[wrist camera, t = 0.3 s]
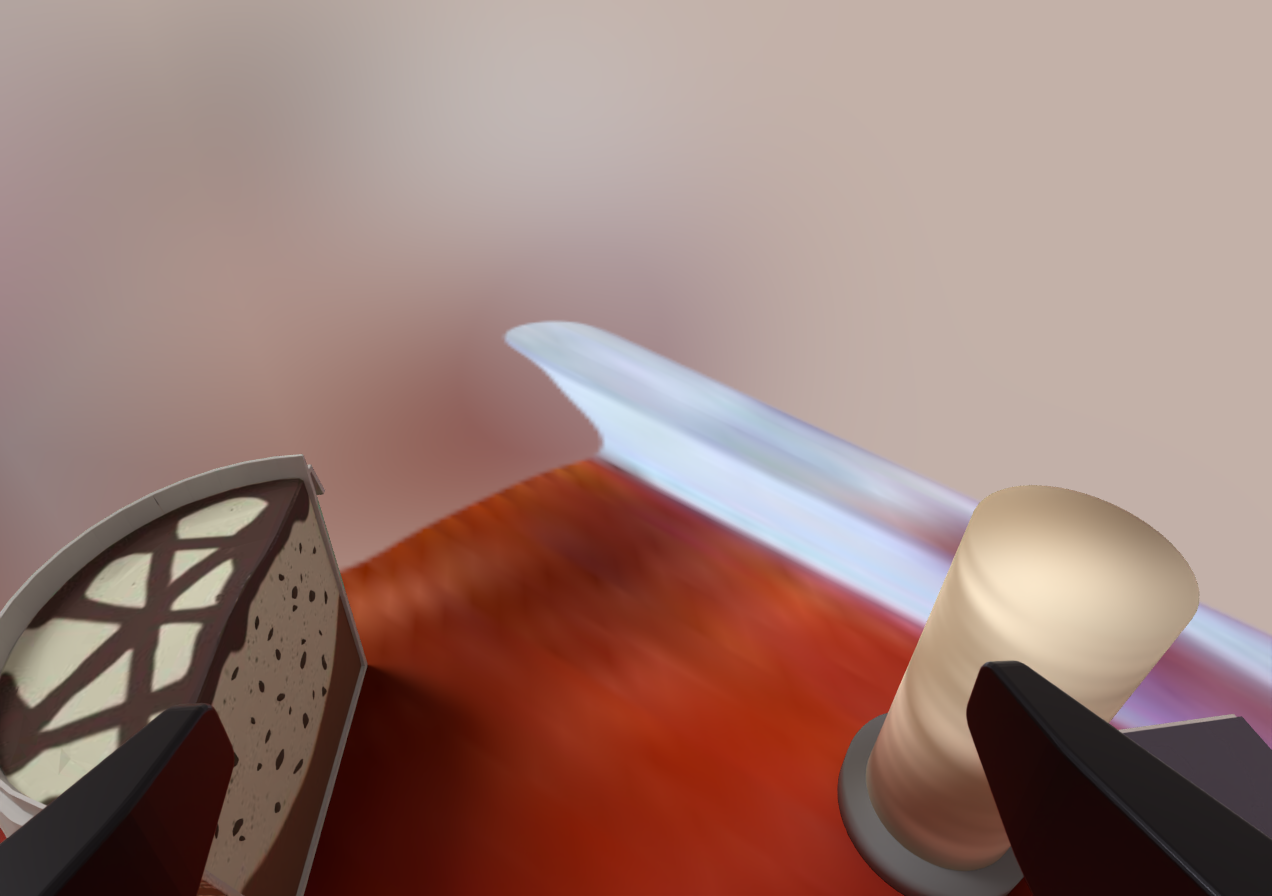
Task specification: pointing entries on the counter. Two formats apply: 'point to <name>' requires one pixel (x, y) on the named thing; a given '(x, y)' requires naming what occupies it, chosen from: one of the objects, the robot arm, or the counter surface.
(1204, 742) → the ink pad
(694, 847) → the counter surface
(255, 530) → the food container
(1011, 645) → the stamp
